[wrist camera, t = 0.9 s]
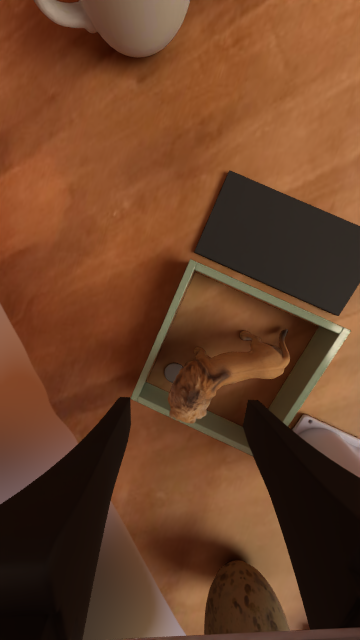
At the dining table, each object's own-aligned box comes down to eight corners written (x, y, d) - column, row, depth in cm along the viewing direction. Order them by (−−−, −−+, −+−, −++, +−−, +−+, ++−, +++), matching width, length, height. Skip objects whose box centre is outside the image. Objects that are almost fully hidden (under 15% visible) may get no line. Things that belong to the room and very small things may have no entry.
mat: (383, 239, 20) (388, 238, 20) (335, 315, 22) (338, 316, 22) (228, 172, 21) (229, 169, 20) (194, 252, 23) (194, 251, 22)
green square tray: (328, 323, 22) (351, 330, 19) (256, 438, 26) (264, 462, 23) (191, 262, 23) (190, 258, 19) (139, 384, 26) (130, 399, 23)
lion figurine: (187, 392, 26) (180, 446, 17) (168, 358, 25) (151, 397, 17) (293, 346, 23) (349, 383, 15) (275, 307, 23) (322, 321, 14)
